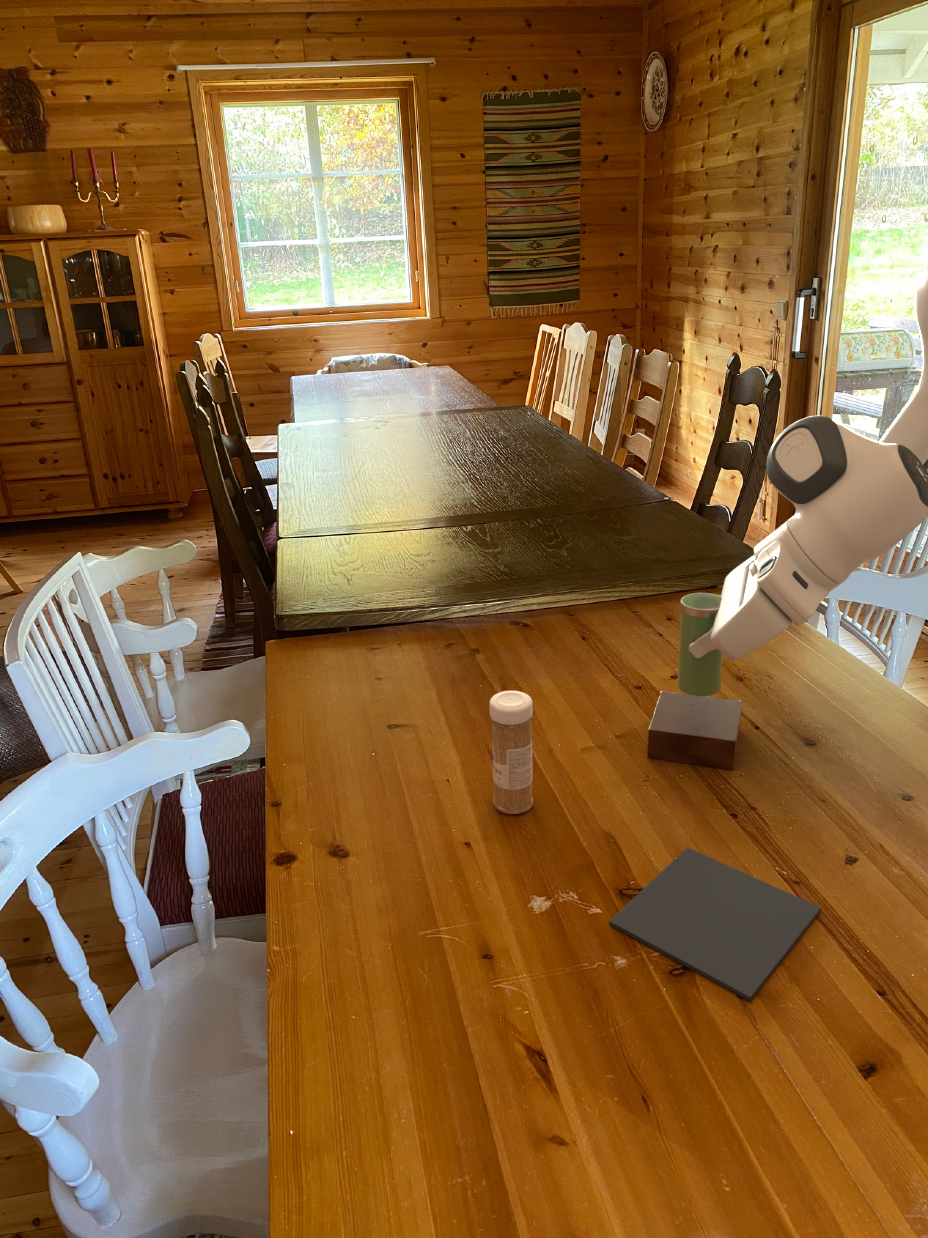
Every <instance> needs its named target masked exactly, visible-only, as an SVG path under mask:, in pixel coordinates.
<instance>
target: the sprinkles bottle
mask: <svg viewBox="0 0 928 1238" xmlns="http://www.w3.org/2000/svg"><path fill="white" fill-rule="evenodd" d="M533 710H534V709H533V700H532V698H531V696H530V695H528V694H527V693H525V692H522V691H520V690H503V691H499V692H498V693H495V694H494V695H492V697H491V698H490V700H489V717H490V718H491V726H492V727H491V729H492V731H491V732H492V744H491V745H492V747H491V748H492V779H493V799H492V801H493V806H494V808H495V809H496V810H498V811H499V812H500V813H503V814H506V815H519V814H523V813H527V812H528V811H529V810H530V809H532V807H533V805H534V797H533V783H532V782H533V737H532V718H533V712H534V711H533Z"/></svg>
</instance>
